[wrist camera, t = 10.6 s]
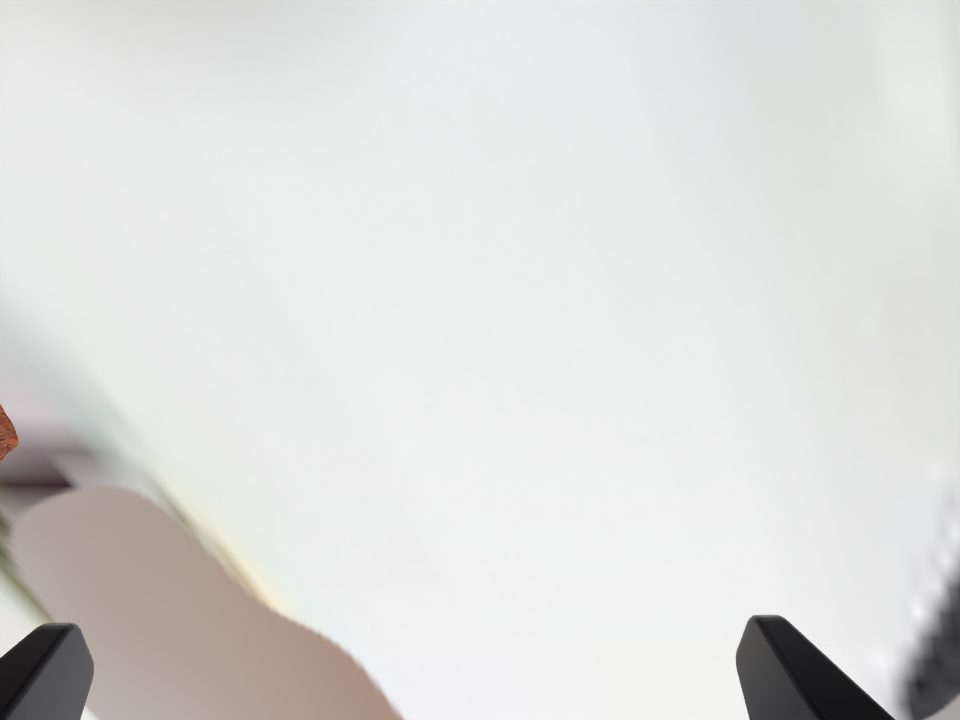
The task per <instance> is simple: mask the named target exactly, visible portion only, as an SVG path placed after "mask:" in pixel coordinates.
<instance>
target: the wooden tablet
mask: <svg viewBox="0 0 960 720" xmlns="http://www.w3.org/2000/svg"><path fill="white" fill-rule="evenodd" d="M17 445H18V437H17V434H16V431H15V428H14V426H13V424H12V422H11V420H10V419H9V418H8V416H7V415H6V414H5V412H4V410H3V408H2V406H1V405H0V462H1V461H2V459H3V458H4V457H5V456H6V454H7V453H8V452H9V451H11V450H12V449H13V448H15V447H16V446H17Z"/></svg>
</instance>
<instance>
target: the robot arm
mask: <svg viewBox="0 0 960 720" xmlns="http://www.w3.org/2000/svg"><path fill="white" fill-rule="evenodd" d="M736 667H737V672H738V676H739V680H740V684H741V688H742V692H743V696H744V699H745V703H746V707H747V711H748V715H749V719H750V720H895V719H894V718H893V717H892V716H891V715H889V714H888V713H887V712H886V711H885V710H884V709H883V708H882V707H881V706H880V705H879V704H878V703H876V702H875V701H874V700H873V699H872V698H871V697H870V696H869V695H868V694H867V693H866V692H865V691H863V690H862V689H861V688H860V687H859V686H858V685H857V684H856V683H855V682H854V681H853V680H852V679H850V678H849V677H848V676H847V675H846V674H845V673H844V672H843V671H842V670H841V669H840V668H839V667H837V666H836V665H835V664H834V663H833V662H832V661H831V660H830V659H829V658H828V657H827V656H826V655H824V654H823V653H822V652H821V651H820V650H819V649H818V648H817V647H816V646H815V645H814V644H812V643H811V642H810V641H809V640H808V639H807V638H806V637H805V636H804V635H803V634H802V633H801V632H799V631H798V630H797V629H796V628H795V627H794V626H793V625H792V624H791V623H790V622H789V621H787V620H786V619H785V618H783V617H781V616H779V615H754V616H752V617H751V618H749V620H748V622H747V624H746V627H745V630H744V633H743V635H742V638H741V641H740V643H739V646H738V649H737V652H736ZM93 674H94V663H93V659H92V656H91V654H90V651H89V649H88V646H87V644H86V641H85V639H84V636H83V634H82V631H81V629H80V627H79V626H78V625H76V624H75V623H47V624H43V625H41V626H39V627H38V628H36V629H35V630H33V631H32V632H31V633H30V634H29V635H27V636H26V637H25V638H24V639H23V640H21V641H20V642H19V643H18V644H17V645H15V646H14V647H13V648H12V649H11V650H9V651H8V652H7V653H6V654H5V655H3V656H2V657H1V658H0V720H80V718H81V715H82V712H83V709H84V706H85V702H86V699H87V696H88V693H89V689H90V686H91V683H92V679H93Z"/></svg>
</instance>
